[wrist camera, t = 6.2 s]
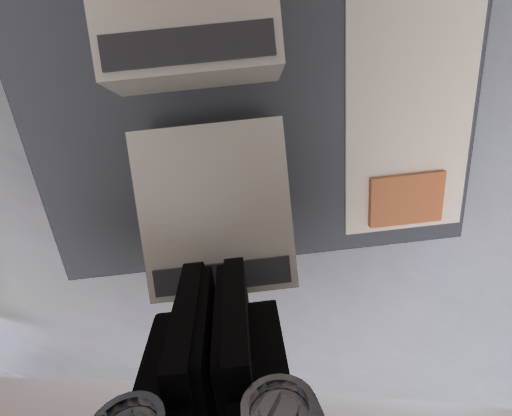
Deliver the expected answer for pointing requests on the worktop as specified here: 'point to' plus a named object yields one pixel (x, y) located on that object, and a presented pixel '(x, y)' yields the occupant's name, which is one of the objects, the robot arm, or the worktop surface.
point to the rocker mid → (184, 44)
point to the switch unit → (260, 106)
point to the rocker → (214, 202)
